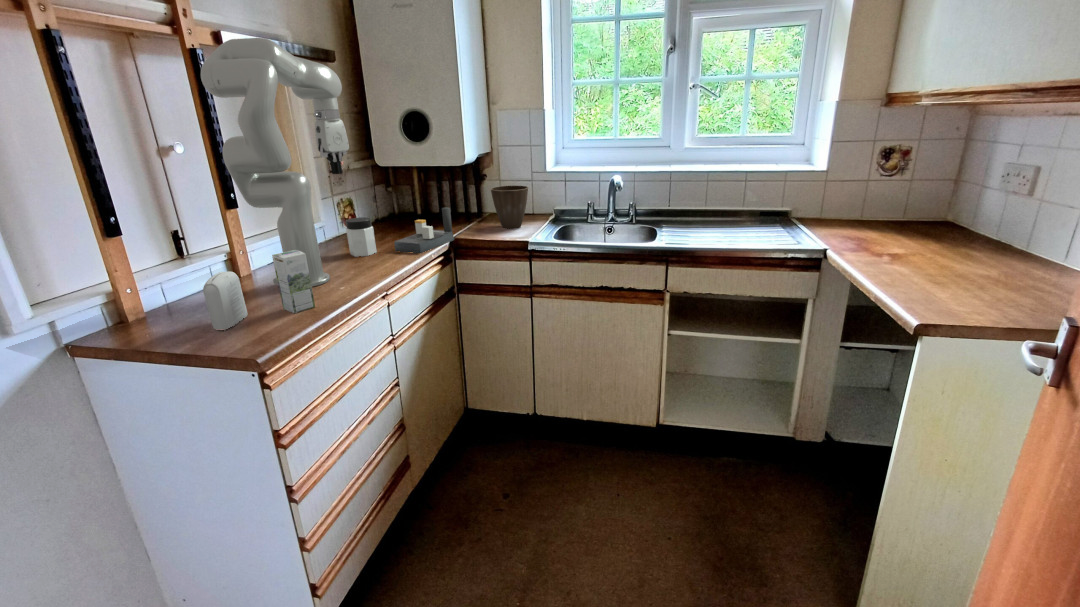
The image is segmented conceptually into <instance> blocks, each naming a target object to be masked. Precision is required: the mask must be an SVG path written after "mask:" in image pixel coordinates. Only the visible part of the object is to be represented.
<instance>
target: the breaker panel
mask: <svg viewBox="0 0 1080 607" xmlns="http://www.w3.org/2000/svg"><path fill="white" fill-rule="evenodd" d="M433 235H434V238H431V239H423V236H422V234H416V233H415V234H412V235H409V236H406V237H404V238H401V239H397V240H394V244H393V245H394V249H395V252H397V251H400V252H399V253H408V252H413V253H412V254H418V253H421V254H423V252H424V253H426V252H429V251H431V250H433V248H434V249H436V248H439V247H441V246H443V245H446V244H448V243H450V242H453V241H454V240H453V236H454V231H453V230H452V231H450V232H445V231H444V229H443V230H442V229H433ZM435 247H436V248H435ZM430 249H431V250H430ZM428 250H429V251H428ZM425 251H426V252H425Z"/></svg>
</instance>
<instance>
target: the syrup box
mask: <svg viewBox="0 0 1080 607" xmlns="http://www.w3.org/2000/svg"><path fill="white" fill-rule="evenodd" d="M272 261H273V266H274V271H275V276H276V278H277V281H278V285H277V286H278V290H279V294H280V299H281V300H280V301H281V304H282V307H283V310H285V311H287V312H289V313H293V314H297V313H301V312H304V311H306V310H310V309H313V308H315V307H316V303H315V298H314V292H313V287H312V286H311V281H310V276H309V270H308V265H307V259H306V254H305V253H303V252H301V251H298V250H292V251H287V252H283V251H282V252H280V253H275V254H272Z"/></svg>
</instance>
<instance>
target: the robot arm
mask: <svg viewBox="0 0 1080 607" xmlns="http://www.w3.org/2000/svg"><path fill="white" fill-rule="evenodd" d="M200 79H201V82H202V85H203V87H204V88H205V90H206V91H207V92H208V93H210V94H211V95H213V96H215V97H217V98H226V99H227V98H244V99H243V102H242V104H241V106H240V108H239V111H238V114H237V124H238V127H239V129H240V130H241V133H242V135H238V136H232V137H230V138H227V139H226V140H225V142H224V143H223V146H222V158H223V161H224V164H225V166H226V169H227V171H228V173H229V174H230V176H231V179H232V180H233V183H235V185H236V187H237V188H238V191H239V193H240V194H241V196H242V198H243V199H244V201H245V202H246V204H248V205H249V206H251V207H252V208H258V209H261V208H263V209H265V208H268V209H270V208H272V209H273V208H277V209H278V208H279V209H281V212H280V214H279V216H278V218H277V222H276V225H277V226H276V227H277V232H278V237H279V241H280V245H281V251H282V253H283V252H287V251H292V250H298V251H301V252H303V253H305V254H306V259H307V265H308V270H309V276H310V281H311V286H312V288H313V287H316V286H320V285H323V284H325V283H327V282H329V281H330V279H331V275H330V273H327V272H324V269H323V263H322V258H321V253H320V248H319V242H318V238H317V237H318V236H317V231H316V227H315V222H314V217H313V208H312V207H313V206H312V186H311V182H310V180H309V178H308V177H307V176H306V175H304V174H303V173H301V172H298V171H289V169H290V167H291V166H292V164H293V163H292V161H293V160H292V156H291V152H290V150H289V147H288V145H287V143H286V140H285V139H284V136H283V134H282V131H281V128H280V127H279V125H278V122H277V119H276V115H275V104H276V97H277V93H278V92H277V91H278V86H279V84H280V85H282V86H284V87H289V88H291V90H292V93H293V94H294V95H295V96H296V97H297V98H300V99H302V100H312V105H313V106H312V107H313V111H314V112H313V113H312V114H313V117H314V118H315V121H314V134H315V135H314V136H315V142H316V147H317V151H318V153H319V156H320V157H322V158H326V160H327V161H328V163H330V169H331V174H332V175H342V174H343V167H342V161H343V156H345V155H347V154H348V151H349V150H350V145H349V138H348V134H347V130H346V127H345V124H344V121H343V120H342V119H341V116H340V110H339V103H338V97H340V95H341V94H342V89H343V88H342V87H343V86H342V85H343V84H342V82H341V79H340V78H339V76H338V75H337V73H336V72H335V71H334V70H333V69H332V68H330V67H329V66H327V65H325V64H323V63H320V62H316V61H312V60H309V59H306V58H303V57H298V56H294V55H293V54H292V53H290V51H288V50H287V49H284V48H283V47H282V46H280V45H279V44H277V43H276V42H275V41H274V40H271V39H269V38H265V37H246V38H232V39H229V40H228V39H227V40H226V41H224V42H223V43H221V44H220V45H219V46H218V47H217V48H216V49H215V50H214V51H213V52H211V54H210V55H209V56H208V57H207V58H206V59H205V60H204V62H203V63H202V66H201V69H200ZM287 170H288V171H287ZM272 282H273V284H274V285H276V286H278V281H277V277H275V278H273V281H272Z"/></svg>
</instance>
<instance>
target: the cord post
mask: <svg viewBox="0 0 1080 607" xmlns="http://www.w3.org/2000/svg"><path fill="white" fill-rule="evenodd" d="M441 215H442V223H443V230H444V231H445V232H450V231H453V226H452V225H453V224H452V215H451V208H450V207H447V206H446V207H441ZM453 241H455V236H454V235H453Z"/></svg>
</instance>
